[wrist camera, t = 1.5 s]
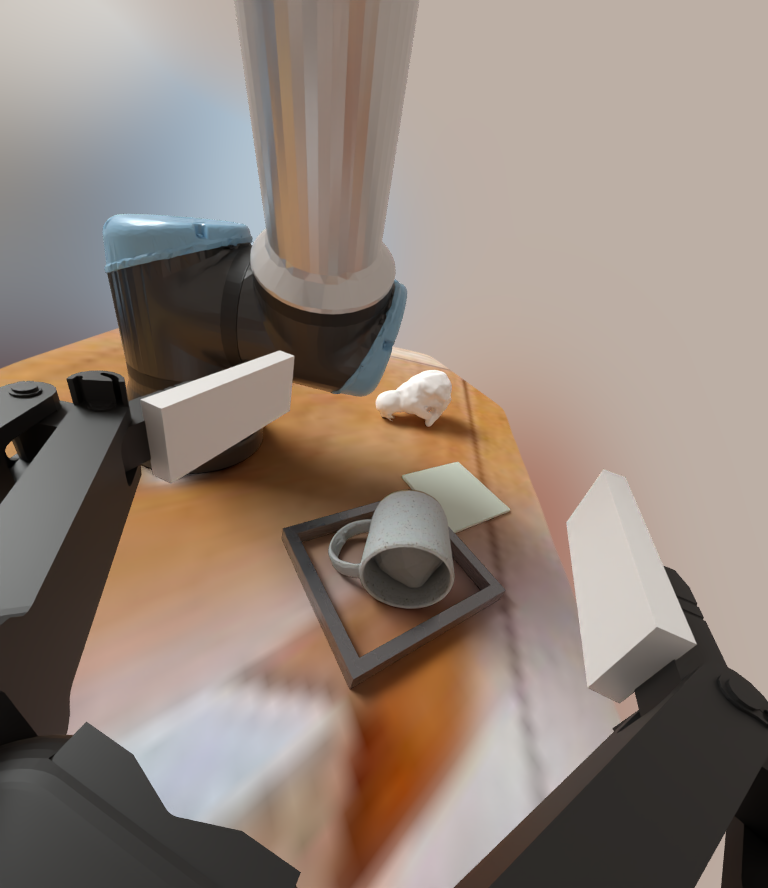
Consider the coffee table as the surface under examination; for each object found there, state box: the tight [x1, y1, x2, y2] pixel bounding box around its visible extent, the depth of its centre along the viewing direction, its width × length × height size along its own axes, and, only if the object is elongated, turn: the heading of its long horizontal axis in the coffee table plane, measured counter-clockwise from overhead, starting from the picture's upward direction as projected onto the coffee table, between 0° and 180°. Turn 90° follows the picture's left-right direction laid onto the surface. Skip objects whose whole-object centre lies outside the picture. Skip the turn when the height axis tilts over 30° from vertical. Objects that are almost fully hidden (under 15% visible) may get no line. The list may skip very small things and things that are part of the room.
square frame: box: [282, 501, 505, 689], centre depth 33 cm, size 14×16×2 cm
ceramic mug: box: [328, 490, 455, 609], centre depth 31 cm, size 11×8×8 cm
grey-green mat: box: [402, 462, 510, 533], centre depth 44 cm, size 10×10×1 cm
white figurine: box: [376, 370, 452, 427], centre depth 57 cm, size 6×8×12 cm
